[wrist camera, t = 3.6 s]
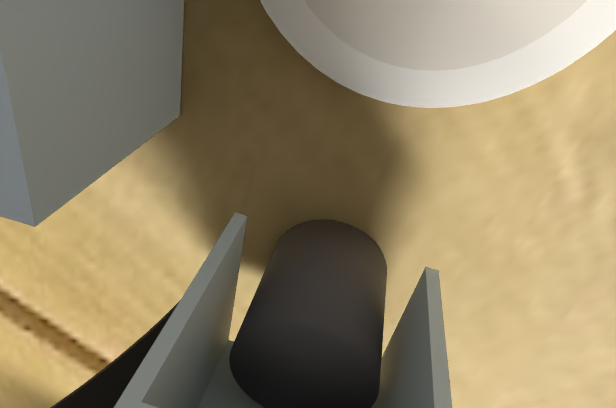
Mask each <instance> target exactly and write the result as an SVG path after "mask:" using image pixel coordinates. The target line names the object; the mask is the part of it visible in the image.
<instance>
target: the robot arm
mask: <svg viewBox="0 0 616 408" xmlns="http://www.w3.org/2000/svg"><path fill="white" fill-rule="evenodd" d="M179 302H180V301H179ZM179 302H178V303H179ZM178 303H177V304H176V305H175V306H174V307H173V308H172V309H171V310H170V311H169V312H168V313H167V314H166V315H165V316H164V317H163V318H162V319H161V320H160V321H159V322H158V323H157V324H156V325H154V326H153V327H152V328H151V329H150V330H149V331H148V332H147V333H146V334H145V335H143V336H142V337H141V338H140V339H139V340H138V341H136V342H135V343H134V344H133V345H132V346H131V347H129V348H128V349H127V350H126V351H125V352H124V353H122V354H121V355H120V356H119V357H118V358H116V359H115V360H114V361H113V362H111V363H110V364H109V365H108V366H106V367H105V368H104V369H103V370H101V371H100V372H99V373H97V374H96V375H95V376H94V377H92V378H91V379H90V380H88V381H87V382H86V383H84V384H83V385H82V386H80V387H79V388H78V389H76V390H75V391H74V392H72V393H71V394H69V395H68V396H67V397H65V398H64V399H62V400H61V401H59V402H58V403H56V404H55V405H54V406H52V407H51V408H114V406H115V405H116V403H117V402H118V400H119V398H120V397H121V395H122V394H123V392H124V390H125V389H126V387H127V386H128V384H129V382H130V381H131V379H132V377H133V376H134V374H135V373H136V371H137V369H138V368H139V366H140V365H141V363H142V361H143V360H144V358H145V357H146V355H147V353H148V352H149V350H150V348H151V347H152V345H153V344H154V342H155V340H156V339H157V337H158V336H159V334H160V332H161V331H162V329H163V328H164V326H165V324H166V323H167V321H168V319H169V318H170V316H171V315H172V313H173V311H174V310H175V308H176V307H177V305H178Z"/></svg>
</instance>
